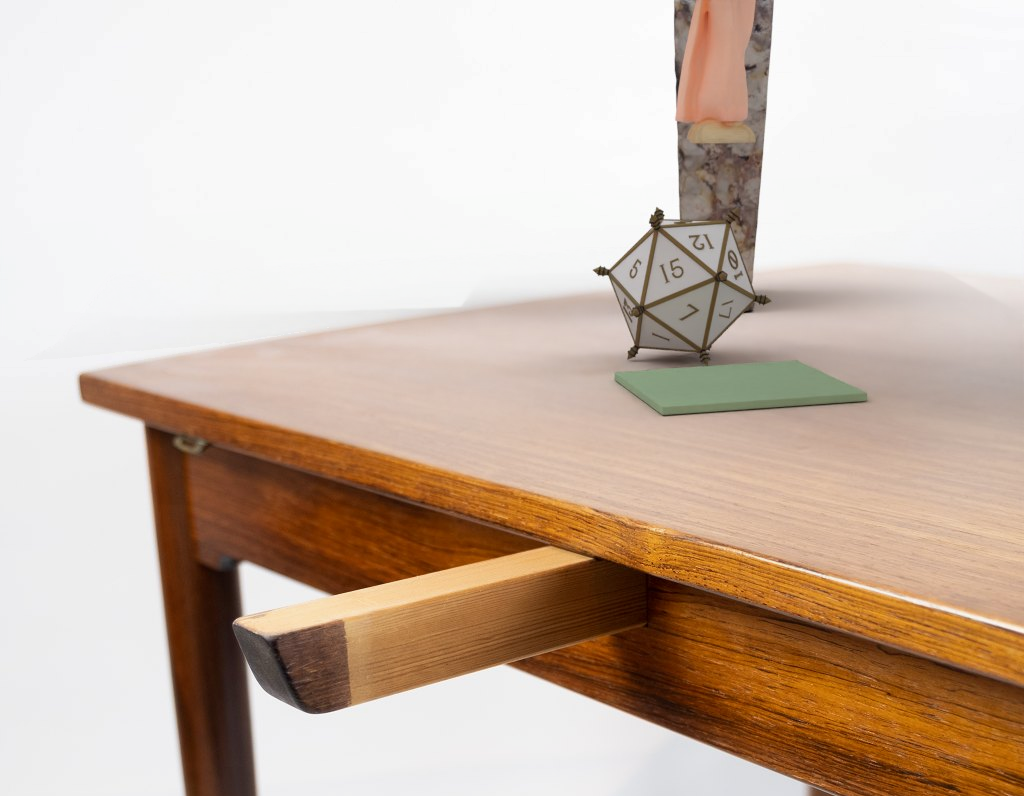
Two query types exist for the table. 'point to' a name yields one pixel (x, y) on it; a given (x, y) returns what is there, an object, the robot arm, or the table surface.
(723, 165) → the stone block
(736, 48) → the grandmother figurine
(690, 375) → the mat
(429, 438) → the table surface
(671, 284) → the game die
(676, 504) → the table surface
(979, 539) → the table surface
